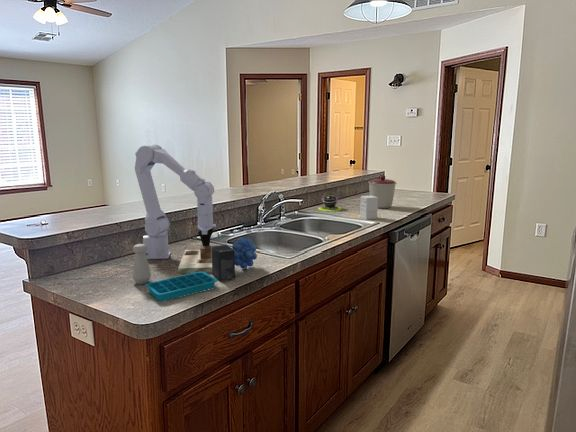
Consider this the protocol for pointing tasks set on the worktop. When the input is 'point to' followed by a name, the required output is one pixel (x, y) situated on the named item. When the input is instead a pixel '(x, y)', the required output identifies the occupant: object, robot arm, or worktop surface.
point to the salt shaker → (141, 265)
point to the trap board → (194, 263)
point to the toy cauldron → (329, 203)
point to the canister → (382, 191)
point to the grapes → (244, 253)
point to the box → (223, 262)
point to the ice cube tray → (181, 285)
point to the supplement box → (368, 207)
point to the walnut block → (205, 252)
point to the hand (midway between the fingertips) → (206, 247)
